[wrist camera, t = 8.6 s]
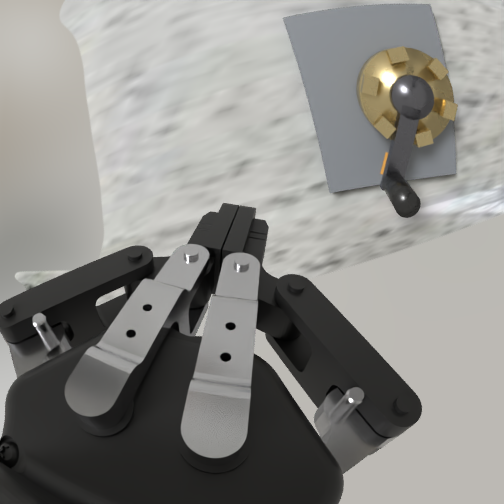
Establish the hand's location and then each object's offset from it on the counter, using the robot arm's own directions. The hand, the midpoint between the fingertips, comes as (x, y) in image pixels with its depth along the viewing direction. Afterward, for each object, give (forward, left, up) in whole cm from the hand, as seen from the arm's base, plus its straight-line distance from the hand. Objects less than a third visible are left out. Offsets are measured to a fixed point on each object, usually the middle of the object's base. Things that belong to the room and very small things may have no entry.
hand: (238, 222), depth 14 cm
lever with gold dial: (-13, +1, -19) cm, 24 cm away
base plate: (-12, -2, -21) cm, 25 cm away
